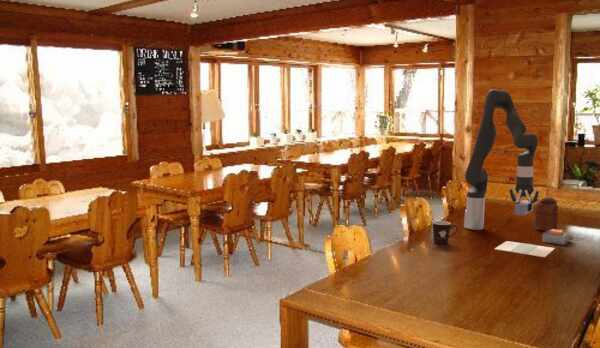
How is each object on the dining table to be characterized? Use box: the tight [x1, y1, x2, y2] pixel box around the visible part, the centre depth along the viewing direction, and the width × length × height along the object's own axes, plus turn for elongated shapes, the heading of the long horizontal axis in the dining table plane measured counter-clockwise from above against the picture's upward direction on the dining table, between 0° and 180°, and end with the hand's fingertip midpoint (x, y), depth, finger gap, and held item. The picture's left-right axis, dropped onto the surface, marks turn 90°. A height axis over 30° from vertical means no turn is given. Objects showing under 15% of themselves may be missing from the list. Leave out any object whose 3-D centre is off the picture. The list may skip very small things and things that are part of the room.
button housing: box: [541, 230, 571, 246], centre depth 268 cm, size 10×10×4 cm
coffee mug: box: [431, 220, 459, 246], centre depth 264 cm, size 12×9×10 cm
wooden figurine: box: [534, 196, 559, 232], centre depth 290 cm, size 12×6×18 cm, turn 54°
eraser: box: [514, 200, 534, 216], centre depth 263 cm, size 4×15×4 cm, turn 144°
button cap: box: [550, 229, 564, 235], centre depth 268 cm, size 5×5×3 cm
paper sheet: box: [494, 240, 556, 258], centre depth 254 cm, size 22×18×1 cm
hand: (523, 210), depth 263 cm, fingers closed on eraser, 4 cm apart
